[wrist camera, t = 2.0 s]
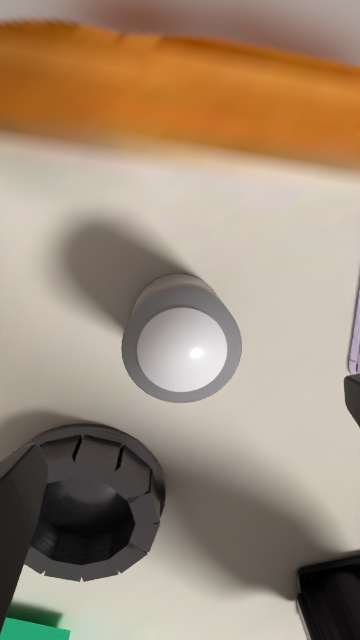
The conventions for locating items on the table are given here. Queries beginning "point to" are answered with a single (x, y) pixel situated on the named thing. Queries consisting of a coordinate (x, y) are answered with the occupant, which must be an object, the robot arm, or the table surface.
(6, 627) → the camera mount
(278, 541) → the table surface
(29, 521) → the robot arm
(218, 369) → the cap
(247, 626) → the table surface
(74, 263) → the table surface
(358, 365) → the mobile phone
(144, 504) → the dark grey ashtray
